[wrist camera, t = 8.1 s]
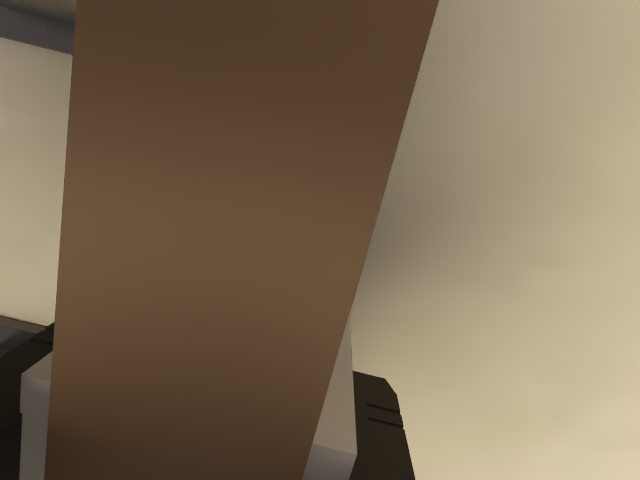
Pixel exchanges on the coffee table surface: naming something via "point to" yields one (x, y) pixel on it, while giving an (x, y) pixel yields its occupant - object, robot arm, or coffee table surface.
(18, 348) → the robot arm
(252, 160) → the rail
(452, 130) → the coffee table surface
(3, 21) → the post
